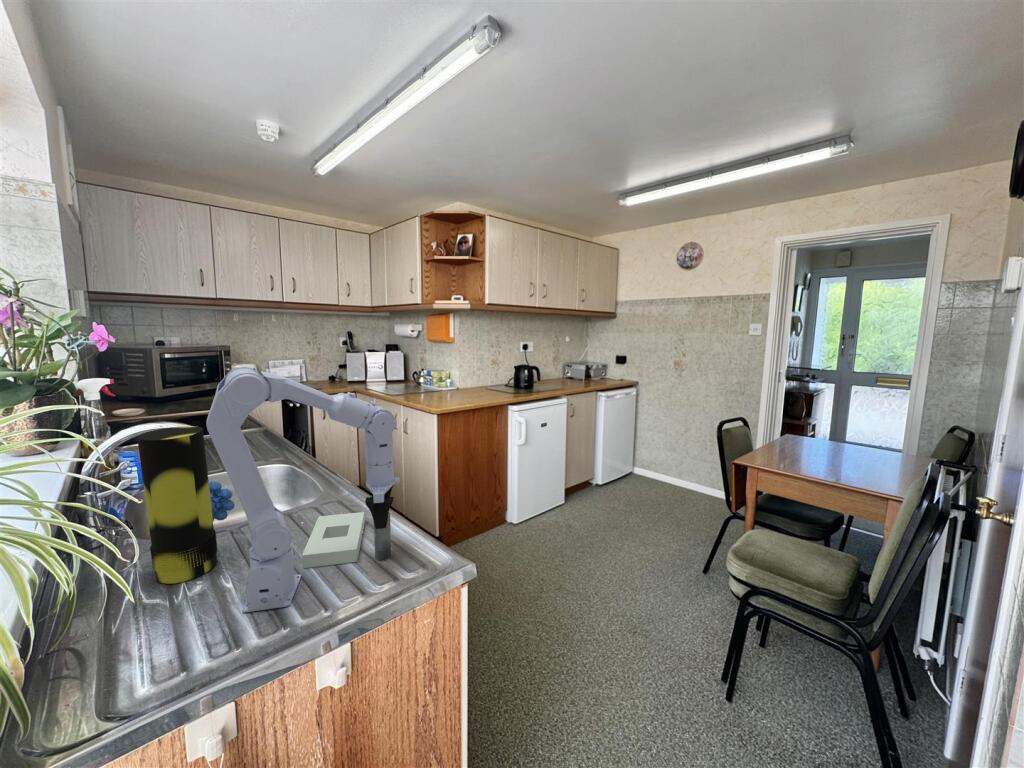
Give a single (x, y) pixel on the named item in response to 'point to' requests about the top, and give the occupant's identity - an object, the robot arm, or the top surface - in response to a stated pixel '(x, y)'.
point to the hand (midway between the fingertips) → (382, 519)
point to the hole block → (334, 540)
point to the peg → (383, 541)
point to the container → (178, 503)
